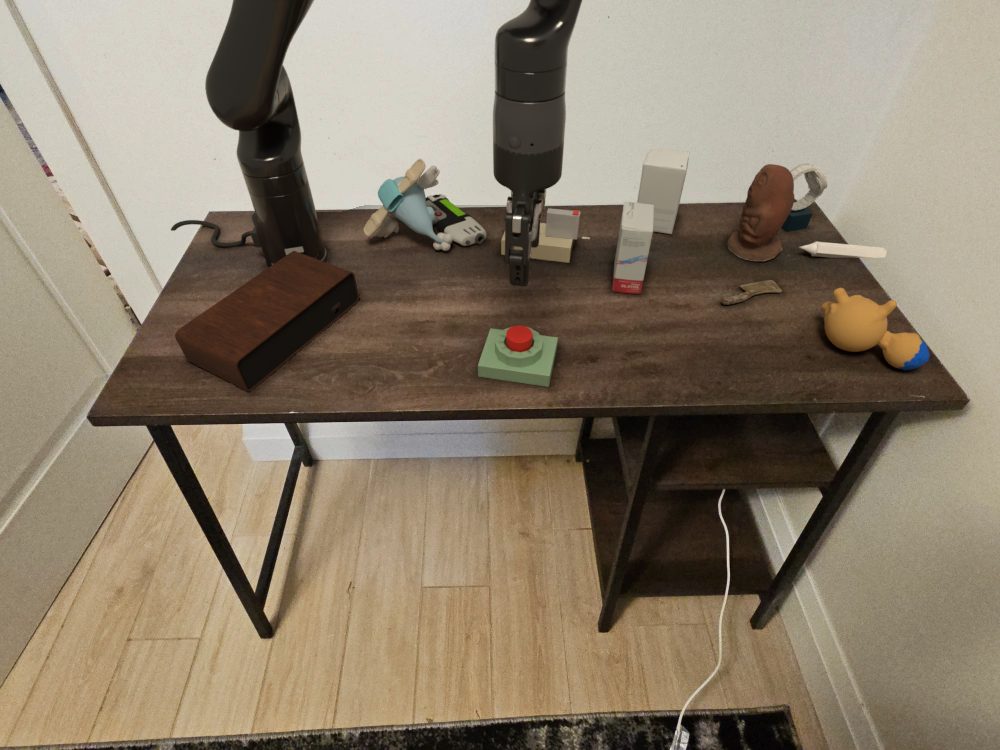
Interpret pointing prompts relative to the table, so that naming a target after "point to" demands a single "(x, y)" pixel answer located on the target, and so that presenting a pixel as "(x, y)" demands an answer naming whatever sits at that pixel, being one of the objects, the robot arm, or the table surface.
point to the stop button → (519, 338)
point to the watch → (816, 184)
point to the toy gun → (455, 221)
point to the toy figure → (408, 205)
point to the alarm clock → (268, 319)
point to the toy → (871, 330)
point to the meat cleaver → (752, 291)
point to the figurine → (764, 214)
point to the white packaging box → (663, 185)
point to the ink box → (633, 247)
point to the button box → (518, 359)
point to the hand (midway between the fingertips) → (524, 264)
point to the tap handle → (562, 223)
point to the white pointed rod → (843, 250)
